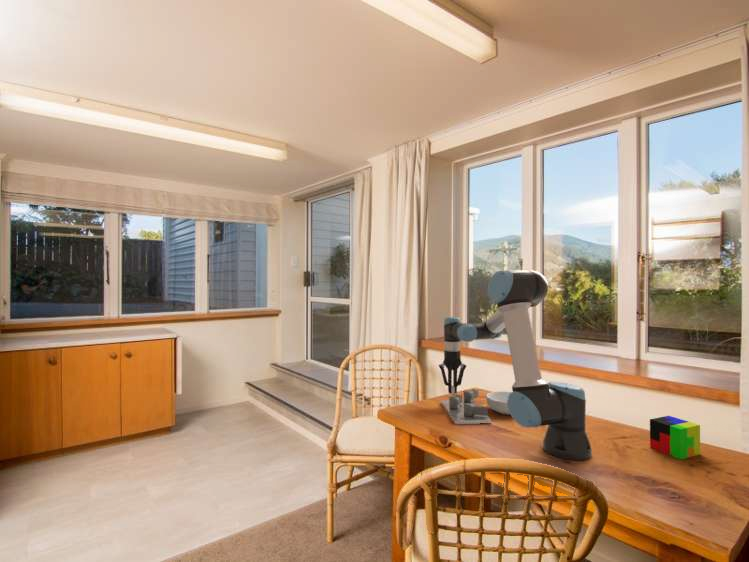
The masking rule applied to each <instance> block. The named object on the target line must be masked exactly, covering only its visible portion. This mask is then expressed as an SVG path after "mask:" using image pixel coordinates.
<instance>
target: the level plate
mask: <svg viewBox="0 0 749 562" xmlns="http://www.w3.org/2000/svg"><path fill="white" fill-rule="evenodd" d="M440 403H442V404H441V405H442V406H444V407H443V408H444V410H445V409H446V410H445V412H446V413H447V412H448V413H447V414H448V416H449V415H450V416H449V417H450V419H451V418H452V419H451V420H452V421H454V422H453V423H454V425H481V424H480V423H491V424H492V419H491V418H490V417H489V416H484V415H474V416H471V417H469V416H465V415H464V403H472V404H474V405H477V403H476V402H475V401H474V400H473V402H464V399H462V403H461V404H459V408H458V409H451V408H449V399H440Z"/></svg>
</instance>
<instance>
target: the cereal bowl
mask: <svg viewBox="0 0 749 562" xmlns="http://www.w3.org/2000/svg"><path fill="white" fill-rule="evenodd" d="M512 392H513V391H505V390H502V391H500V390H499V391H498V390H497V391H491V392H488V393H487V394H486V403H487V404H486V405H487V406H488V407H489V408H490V409H491V410H493V411H495V412H497V413H498V414H500V413H501V415H505V414H506V416H509V415H511V414H510V412H509V409H508V404H507V400H508V399H509V398H508V396H509V395H510V394H511V393H512Z"/></svg>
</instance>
